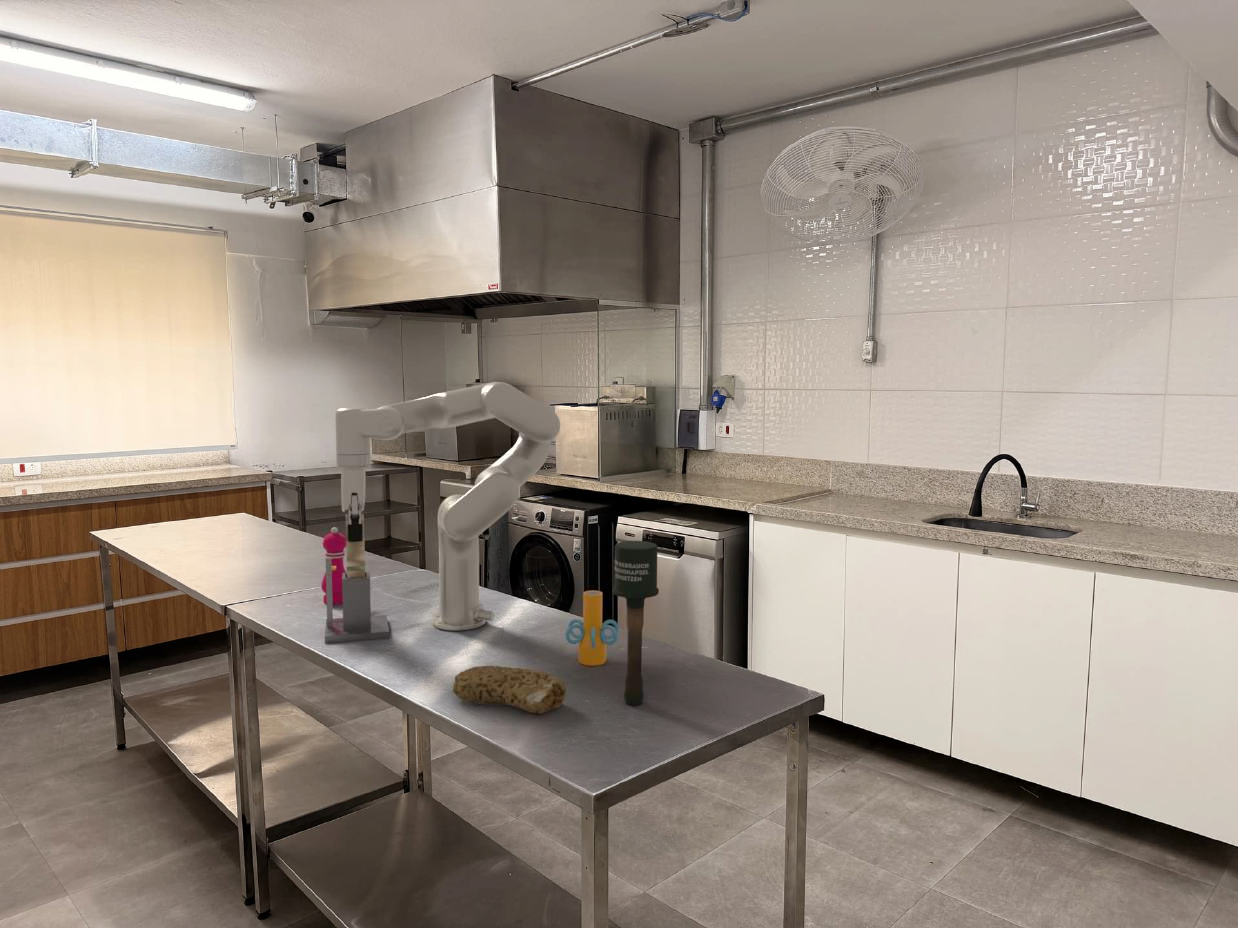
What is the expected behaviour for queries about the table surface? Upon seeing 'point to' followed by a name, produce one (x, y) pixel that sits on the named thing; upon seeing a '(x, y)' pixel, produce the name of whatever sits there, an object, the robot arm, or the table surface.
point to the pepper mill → (335, 564)
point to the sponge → (510, 688)
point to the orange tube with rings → (592, 631)
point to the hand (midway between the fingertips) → (355, 538)
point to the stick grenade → (635, 604)
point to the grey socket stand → (353, 611)
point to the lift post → (355, 554)
